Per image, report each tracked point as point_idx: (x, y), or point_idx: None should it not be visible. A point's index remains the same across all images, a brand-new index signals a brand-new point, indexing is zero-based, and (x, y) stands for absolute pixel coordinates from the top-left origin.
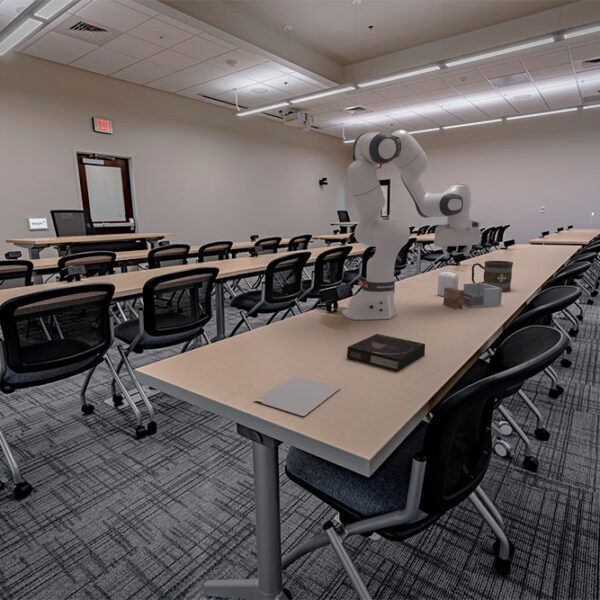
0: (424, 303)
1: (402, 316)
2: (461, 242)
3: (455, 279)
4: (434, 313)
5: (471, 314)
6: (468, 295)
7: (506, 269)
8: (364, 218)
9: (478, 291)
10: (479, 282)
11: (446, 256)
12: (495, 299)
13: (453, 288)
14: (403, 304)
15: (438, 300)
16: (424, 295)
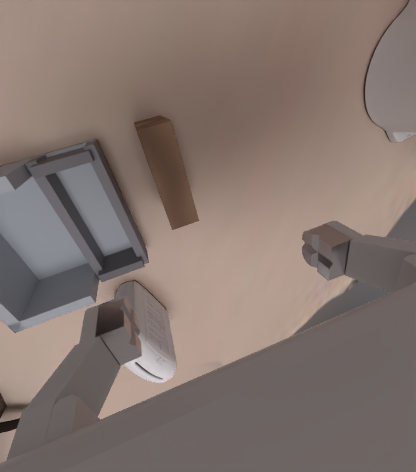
0: (235, 211)
1: (369, 20)
2: (276, 409)
3: None
4: (256, 56)
5: (116, 14)
6: (86, 240)
7: None
8: None
9: (33, 295)
10: (10, 428)
11: (329, 222)
12: None
13: (166, 204)
14: (295, 196)
15: (182, 252)
16: (202, 305)
